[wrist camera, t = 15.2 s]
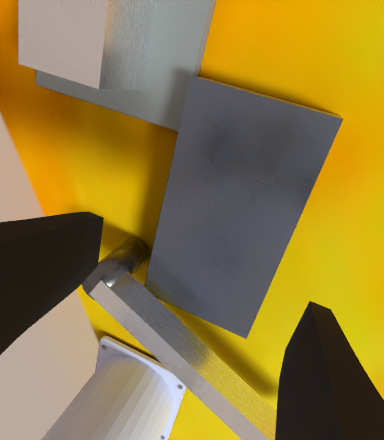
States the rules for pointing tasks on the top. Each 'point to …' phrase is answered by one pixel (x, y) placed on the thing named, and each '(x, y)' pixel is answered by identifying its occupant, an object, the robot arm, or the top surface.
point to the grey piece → (234, 199)
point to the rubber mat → (155, 66)
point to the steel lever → (177, 343)
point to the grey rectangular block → (87, 40)
